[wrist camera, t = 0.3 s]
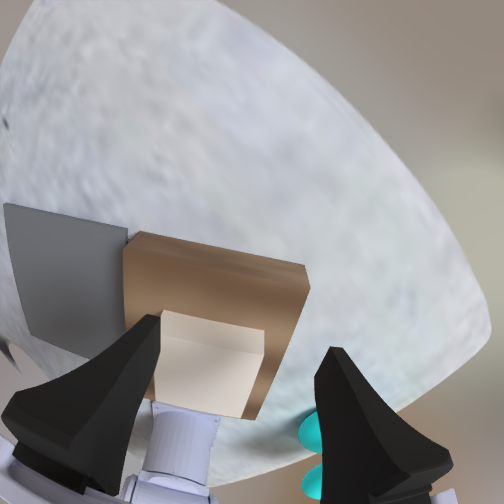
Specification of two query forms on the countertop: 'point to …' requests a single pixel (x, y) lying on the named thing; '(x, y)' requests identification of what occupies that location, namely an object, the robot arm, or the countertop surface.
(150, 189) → the countertop surface
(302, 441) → the donuts
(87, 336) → the mat
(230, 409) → the tile
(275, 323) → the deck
